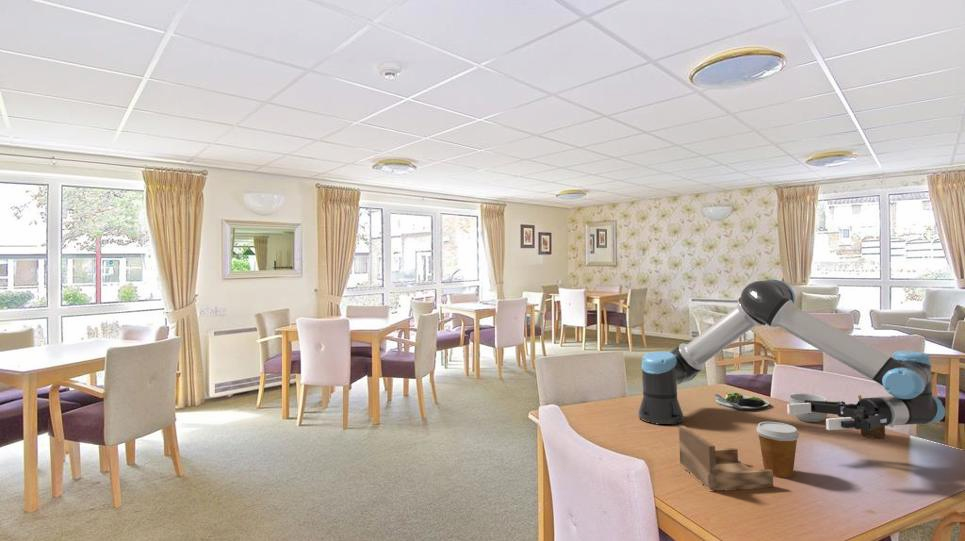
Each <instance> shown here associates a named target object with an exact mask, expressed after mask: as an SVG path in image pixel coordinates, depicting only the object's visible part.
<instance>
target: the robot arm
mask: <svg viewBox="0 0 965 541" xmlns="http://www.w3.org/2000/svg"><path fill="white" fill-rule="evenodd" d="M795 295H796V294H795V291H794V289H792V287H791V286H790V285H789V284H788V283H786V282H785V281H783V280H779V279H775V278H773V279H772V278H770V279H766V280H757V281H753V282H751V283H749V284H747V285H746V286H745V287H744V288H743V289H742V292H741V294H740V297H739V298H738V299H737V305H736V306H735V307H734V308H733V309H731V310H730V311H729V312H727V313H726V314H725V315H723V316H722V317H721V318H720V319H718V320H717V321H716V322H714V323H713V324H711V325H710V326H709V327H707V329H705V330H704V331H703V332H701V333H700V334H699V335H697V336H696V337H695V338H693V339H692V340H691V341H690V342H688V343H683V342H682V343H680V344H679V345H677V346H676V347H674V348H673V349H672V350H671V351H662V350H661V351H659V350H658V351H652V352H651V351H650V352H647V353H646V354H643V356H642V359H641V377H642V378H641V379H642V398H641V403H640V405H639V409H638V418H639V417H640V418H642V419H644V420H646V421H649V422H653V423H658V424H675V425H678V424H677V423H679V424H682V423H683V422H684V413H683V410H682V407H681V405H680V402H679V399H678V385H680V384H683V383H686V382H689V381H691V380H693V379H695V377H697V375H698V374H699V373H700V372H701V371H702V370H704V369H705V363H706V362H708V361H709V360H711V359H712V358H713V357H714V356H717V354H719V353H720V352H722V351H723V350H725V349H726V348H727V347H728V346H730V345H731V344H732V343H734V342H736V341H737V340H738V339H739V338H741V337H742V336H744V335H745V334H747V333H748V332H749V331H751V330H752V329H754V328H755V327H756V326H761V327H763V326H767V325H768V326H770V327H771V328H780V329H782V330H783V331H785V332H787V333H789V334H790V335H792V336H794V337H795V338H798V339H800V340H801V341H802V342H805V343H807V344H808V345H810V346H812V347H814V348H816V349H817V350H819V351H820V352H823V353H824V354H826V355H827V356H829V357H831V358H832V359H835V360H836V361H838V362H840V363H842V364H843V365H846V366H847V367H848V368H851V369H853V370H855V371H856V372H858V373H860V374H861V375H863V376H865V377H867V378H868V379H871V380H873V381H874V382H876V383H877V384H879V385H880V386H882V387H883V389H885V391H886V392H887V393H888V394H889V396H877V397H862V399H861V400H859V399H858V401H857V402H856V403H848V404H847V403H846V402H845V401H843V400H842V401H830V400H829V401H828V400H827V401H811V400H804V403H797V404H790V403H787V404H786V405H787V406H786V409H787V414H788V415H793V414H804V413H808V414H810V413H811V412H818V413H827V415H829V414H830V415H837V416H838V417H832V418H831V417H829V418H828V417H827V418H825V429H826V430H827V431H836V430H838V431H839V430H840V431H841V430H850V429H851V430H852V429H855V430H860V429H861V428H862V429H863V431H865V432H869V431H871V430H873V429H875V428H878V427H881V426H885V427H890V428H894V427H895V426H901V425H902V426H905V425H928V424H933V423H934V424H935V423H938V422H940V421H941V420H943V419H944V417H945V415H946V409H945V407H944V405H943V402H942V401H941V400H940V399H939V397H937V396H936V395H935V396H934V395H933V391H932V364H931V357H930V355H929V354H928V353H926V352H923V351H922V352H921V351H913V350H898V351H895V352H894V353H893V354H892V356H890V355H889V354H887V353H885V352H884V351H881V350H879V349H877V348H875V347H873V346H872V345H870V344H867V343H866V342H864V341H862V340H860V339H858V338H856V337H855V336H854V335H853V336H852V335H851V334H849V333H847V332H845V331H843V330H841V329H839V328H836V327H835V326H834V325H832V324H830V323H828V322H826V321H824V320H822V319H820V318H818V317H816V316H815V315H812V314H811V313H809V312H807V311H805V310H803V309H801V308H800V307H797V306H795V301H796V296H795ZM890 395H891V396H890ZM841 412H842V413H841ZM640 418H639V419H640ZM682 421H683V422H682ZM681 422H682V423H681ZM658 424H657V425H658Z"/></svg>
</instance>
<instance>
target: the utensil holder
mask: <svg viewBox="0 0 965 541" xmlns="http://www.w3.org/2000/svg"><path fill="white" fill-rule="evenodd" d="M857 397H858V401H859V400H861V399H863V397H862V395H861V394H860V395H859V394H858V395H857ZM859 430H860V434H861V435H862V436H864V435H865V436H864V437H866V436H868V437H867V438H870V437H873V438H872V439H876V438H882V439H884V438H885V437H886V426H881V427H878V428H875V429H873V430H871V431H869V432H865V431H863V429H862V428H861V429H859Z"/></svg>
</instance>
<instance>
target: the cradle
mask: <svg viewBox="0 0 965 541" xmlns="http://www.w3.org/2000/svg"><path fill="white" fill-rule="evenodd" d="M678 439H679V440H678V441H679V465H680V464H681V465H682V466H683V467H684V468H686V469H687V470H688V471H689V472H691V473H692V474H693V475H694V476H695V477H696V478H697V479H698V480H700V481H701V482H702V483H703V484H704V485H705V486H706V487H708V488H709V489H710V490H725V489H727V490H725V491H730V490H729V489H733V490H732V491H737V490H736V489H740V490H751V489H752V490H753V489H754V488H756V489H770V488H769V487H771V488H774V476H773V471H772V470H770V469H768V470H765V469H756V470H754V469H752V468H751V467H749V466H748V465H746V464H745V463H743V462H741V461H740V460H739V454H738V453H739V452H738V451H739V450H738V448H736V447H732V448H731V447H729V448H716V445H715V444H713V443H711V442H710V441H708V440H706V438H704V437H702V436H701V435H700V434H698V433H696V432H695V431H693V430H691V429H690V428H688V427H687V426H685V425H678ZM698 480H697V481H698ZM704 485H703V486H704ZM705 486H704V487H705ZM706 487H705V488H706Z"/></svg>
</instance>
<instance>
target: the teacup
mask: <svg viewBox="0 0 965 541" xmlns="http://www.w3.org/2000/svg"><path fill="white" fill-rule="evenodd" d="M804 400H811V401H828V398H826V397H825V396H824V395H819V394H814V393H801V392H799V393H797V392H792V393H790V395H789V402H790V403H789V404H797V403H804ZM792 415H793V416H794V417H795V418H797V420H800V421H803V422H806V423H819V422H821V421H823V420H825V419H827V416H828V414H827V413H818V412H811V413H810V414H808V413H804V414H792Z"/></svg>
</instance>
